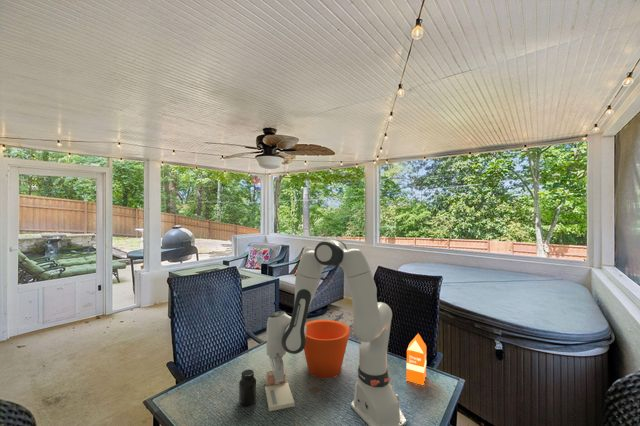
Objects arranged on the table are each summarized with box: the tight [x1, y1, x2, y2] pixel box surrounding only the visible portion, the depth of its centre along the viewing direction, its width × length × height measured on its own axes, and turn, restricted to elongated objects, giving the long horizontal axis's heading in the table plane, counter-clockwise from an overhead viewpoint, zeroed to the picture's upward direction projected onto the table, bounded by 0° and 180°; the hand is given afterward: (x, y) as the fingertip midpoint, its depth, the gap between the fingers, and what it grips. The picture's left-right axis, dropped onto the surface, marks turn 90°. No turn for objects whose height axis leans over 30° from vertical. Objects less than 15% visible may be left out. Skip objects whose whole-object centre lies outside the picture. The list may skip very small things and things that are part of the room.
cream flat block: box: [264, 381, 295, 412], centre depth 115 cm, size 14×10×2 cm
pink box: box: [265, 370, 286, 386], centre depth 124 cm, size 4×8×5 cm, turn 108°
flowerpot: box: [303, 319, 351, 380], centre depth 137 cm, size 25×25×20 cm
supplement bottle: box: [238, 369, 257, 408], centre depth 112 cm, size 7×7×12 cm
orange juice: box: [406, 332, 427, 386], centre depth 130 cm, size 8×9×20 cm
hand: (275, 379), depth 124 cm, fingers closed on pink box, 4 cm apart
